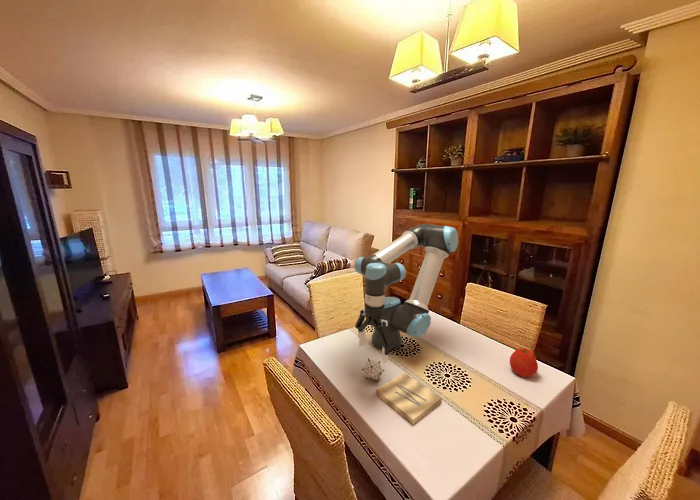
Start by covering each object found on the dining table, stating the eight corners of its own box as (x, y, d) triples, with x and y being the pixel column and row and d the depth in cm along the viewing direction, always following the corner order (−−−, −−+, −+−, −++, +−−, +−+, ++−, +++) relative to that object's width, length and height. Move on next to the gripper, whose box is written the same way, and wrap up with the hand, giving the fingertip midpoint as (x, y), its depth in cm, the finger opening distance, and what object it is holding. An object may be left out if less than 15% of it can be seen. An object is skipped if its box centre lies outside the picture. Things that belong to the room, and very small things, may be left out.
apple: (509, 361, 127) (513, 340, 124) (537, 370, 121) (540, 348, 118) (506, 373, 118) (510, 351, 116) (535, 383, 113) (540, 360, 110)
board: (375, 393, 107) (375, 389, 107) (403, 376, 117) (404, 372, 116) (412, 424, 93) (413, 419, 93) (441, 402, 103) (441, 397, 102)
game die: (376, 384, 117) (391, 365, 117) (371, 391, 109) (387, 371, 109) (360, 368, 120) (374, 350, 120) (354, 374, 112) (369, 354, 112)
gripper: (347, 295, 115) (346, 342, 120) (391, 317, 96) (388, 372, 101) (361, 291, 120) (360, 337, 124) (406, 312, 100) (403, 364, 105)
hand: (372, 353), depth 112 cm, fingers open, 13 cm apart
